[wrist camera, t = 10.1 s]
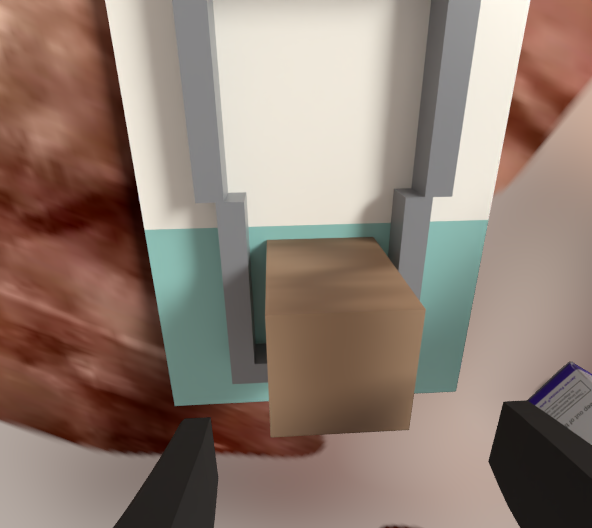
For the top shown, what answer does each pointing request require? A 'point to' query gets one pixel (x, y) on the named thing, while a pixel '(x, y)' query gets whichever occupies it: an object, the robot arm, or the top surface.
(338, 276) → the walnut block
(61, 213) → the top surface
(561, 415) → the supplement box
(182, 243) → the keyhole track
